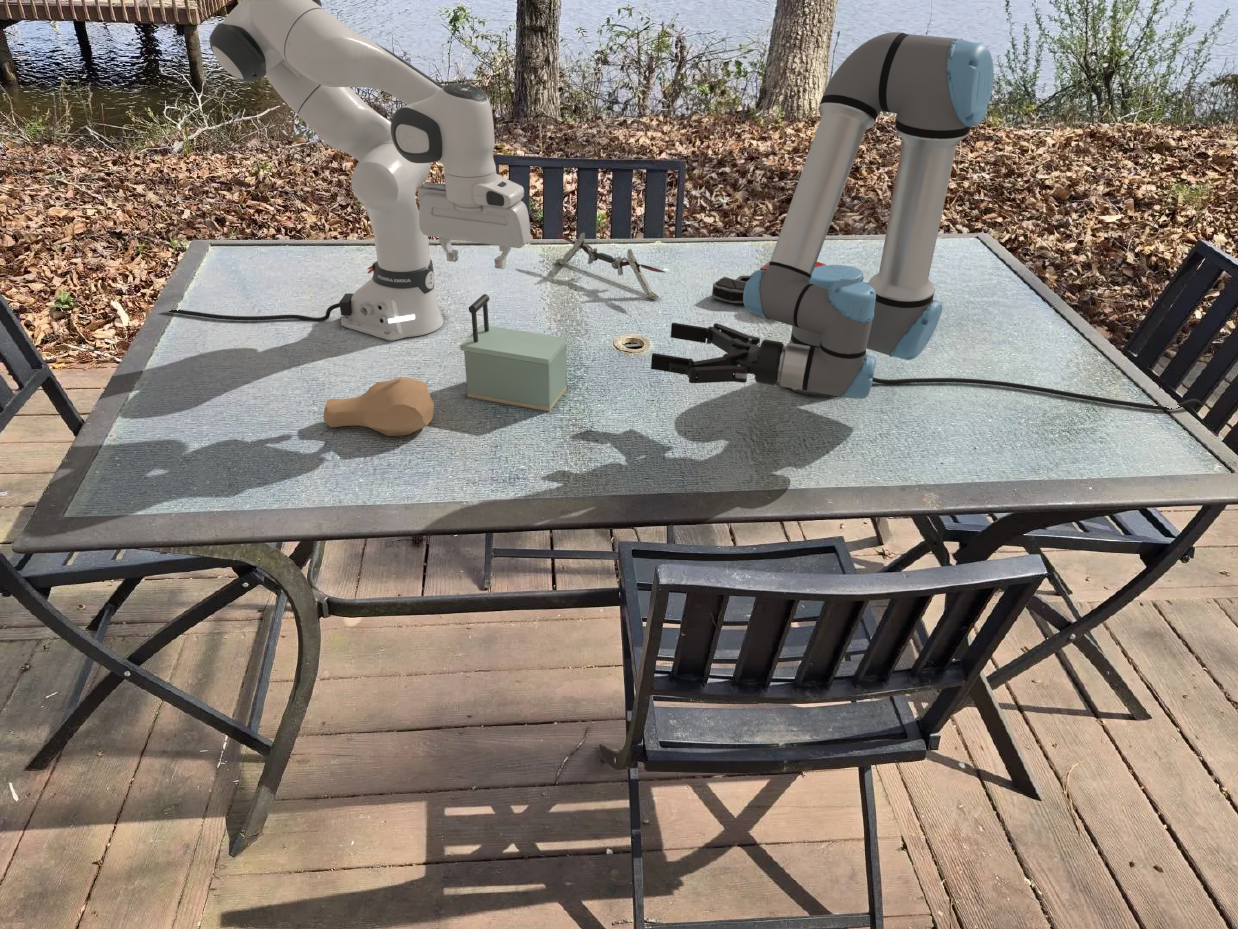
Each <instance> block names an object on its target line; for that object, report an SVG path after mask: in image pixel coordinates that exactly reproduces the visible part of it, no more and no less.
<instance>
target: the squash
mask: <svg viewBox="0 0 1238 929" xmlns="http://www.w3.org/2000/svg"><path fill="white" fill-rule="evenodd" d="M434 412H435V402H434V401H433V399H432V397H431V394H430V391H429V387H428V384H427V382H424V381H422V380H421V381H420V380H418V379H415V378H412V377H406V376H399V377H396V378H393V379H390V380H385V381H384V380H383V381H379V382H375V384H373V385H372V386H370V387H369V388H368V390H366V392H364V393H363V394H360V395H359V396H357V397H349V398H347V397H346V398H330V399H326V401H325V406H324V410H323V421H324V423H326V425H328V426H329V428H338V427H349V426H361V427H366V428H371V430H372V429H373V430H374V431H376V432H377V433H380V434H382V435H385V436H387V437H400V436H401V437H402V436H403V437H404V436H409V435H412V434H413V433H415V432H417V431H419V430H421V429H423V428H425V427H427V426H428V425H429V424H430V423H431V422H432V420H433V418H434Z"/></svg>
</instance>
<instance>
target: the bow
mask: <svg viewBox="0 0 1238 929" xmlns="http://www.w3.org/2000/svg"><path fill="white" fill-rule="evenodd" d="M550 233H551V234H553V235H554V236H556V237H558V238H560V239H562V240H564V241H566V242H569V243H572V244H573V246H572V248H570V249H569V250H568V251H567V252H566V253H565V254H564V256H563V258H558V259H555V262H556V263H557V264H560V265H565V266H567V267H570V268H573V269H576V270H578V271H581V272H583V273H586V274H589V275H591V276H594V277H596V278H599V279H601V280H604V281H607V282H610V283H613V284H615V285H618V286H621V287H622V288H626V289H628V290H631V291H634V292H636V293H639V294H641V295H644V296H646V297H647V298H649V299H652V300H656V299H658V298H659V295H657V294H656V293H655V292H653V290H652V289H651V287H650V284H649V282H648V280H647V278H646V277H645V275H644V274H643V272H642V270H641V268H642V269H645V270H648V271H651V272H656V273H662V274H663V273H666V271H664V270H661V269H659V268H657V267H654V266H651V265H646V264H643V263H641V264H640V263H639V262H638V260H637V258H636V257H635V255H634V252H633V249H632V248H628V249H627V252H626V254H627V256H626V257H621V256H616V257H613V256H612V255H610V254H607V253H605V252H598V248H597V247H595V248H592V246H590V244H587V243H585V240H586V237H585V236H586V233H585V232H581V233H580V234H579V237H578V238H577V239H576V240H572V239H571V238H569V237H567V236H565V235H563V234H560V233H558V232H555V231H550ZM581 249H582V251H583V252H584V253H586V255H588V258H587V265H591V264H594V262H596V261H598V260H601V261H603V262H605V263H609V264H611V268H613V269H614V270H617V276H624V268H623V267H626V266H630V268H631V269H632V271H633V273H634V275H635V278H636V280H637V281H638V283H639V284H640V287H641V289H642V290H643V292H644V293H643V292H641V291H638V290H637V289H636V290H635V289H634V288H633V289H632V288H630V287H628V286H624V285H622V284H619V283H617V282H615V281H612V280H609V279H606V278H604V277H602V276H599V275H596V274H593V273H590V272H588V271H585V270H582V269H580V268H577V267H574V266H572V265H569V264H566V263H568V262H570V261H571V260H572V258H573V257H574V256H575V255H576V254H577V253H578V252H579V251H580V250H581Z"/></svg>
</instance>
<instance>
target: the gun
mask: <svg viewBox="0 0 1238 929" xmlns="http://www.w3.org/2000/svg"><path fill="white" fill-rule="evenodd" d="M769 263H770V260H768V261H767V262H766V263H765V264H763V265H762V266H761V267H760V269H759V270H765V271H766V270H767V268H768V266H769ZM825 265H827V264H826V263H823V262H820V261H817V262H816V265H815V267H819V266H825ZM815 267H814V268H815ZM750 276H751V275H740V276H738V277H737V278H735V279H734V278H731V277H727V276H722V277H720V279H717V281H715V282H713V283H712V291H711V297H713V298H714V299H716V300H719V301H723V302H727V303H730V304H744V302H743V294H744V289H745V285H746V283H747V281H748V280H749V279H750Z"/></svg>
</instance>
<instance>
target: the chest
mask: <svg viewBox="0 0 1238 929" xmlns="http://www.w3.org/2000/svg"><path fill="white" fill-rule="evenodd" d="M567 347H568V346H567V343H566V344H565V346H564V347H563V348H562V349H561V350H560V352H559V353H558V354H557V355H556V356H555V358H554V359H553V360H552V361H551V362H550V364H549V365H547V364H541V363H535V362H529V361H523V360H517V359H511V358H505V357H499V356H493V355H487V354H481V353H475V352H469V351H463V354H464V366H465V367H464V368H465V379H466V391H467V392H466V393H467V395H466V396H467V397H468V398H473V399H477V400H484V401H489V402H493V403H495V402H496V403H500V404H507V405H511V406H516V407H522V408H528V409H534V410H540V411H544V412H545V411H546V412H551V411H552V410H553V408H554V407H555V405H556V404H557V402H559V400H560V399H561V397H562V396H563V395H564V393H565V392H566V391H567V389H568V359H567V358H568V356H567V355H568V351H567V350H568V348H567Z"/></svg>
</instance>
